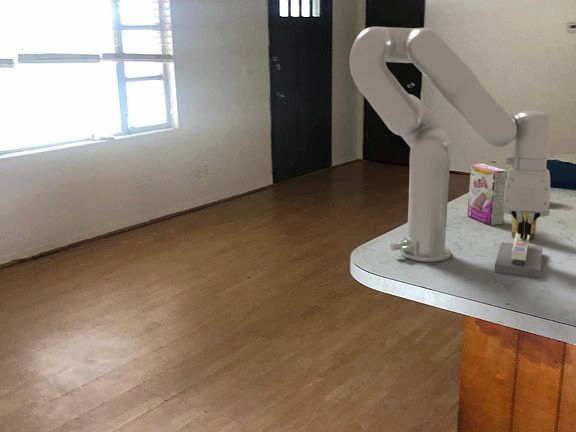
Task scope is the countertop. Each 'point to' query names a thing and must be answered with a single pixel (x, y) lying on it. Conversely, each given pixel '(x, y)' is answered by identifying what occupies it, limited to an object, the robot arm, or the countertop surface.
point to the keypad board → (527, 269)
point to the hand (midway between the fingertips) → (523, 237)
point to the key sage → (521, 240)
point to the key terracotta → (520, 245)
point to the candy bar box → (487, 194)
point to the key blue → (518, 255)
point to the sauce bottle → (515, 227)
